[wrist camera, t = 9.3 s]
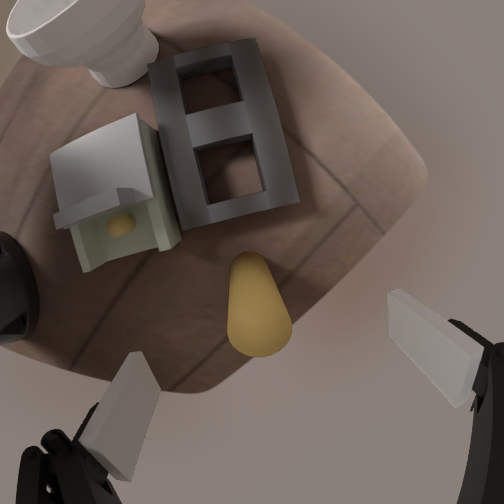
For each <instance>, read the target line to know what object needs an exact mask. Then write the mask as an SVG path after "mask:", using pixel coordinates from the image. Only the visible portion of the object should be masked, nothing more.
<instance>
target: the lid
mask: <svg viewBox="0 0 504 504" xmlns="http://www.w3.org/2000/svg"><path fill="white" fill-rule="evenodd" d="M50 161H51V168H52V175H53V181H54V187H55V192H56V197H57V202H58V207H59V212H57V213H55V214H53V219H54V223H55V227H56V230H57V229H61V228H64V229H68V228H70V227H73V226H75V225H78V224H81V223H83V222H86V221H88V220H91V219H94V218H96V217H99V216H102V215H104V214H107V213H110V212H113V211H115V210H118V209H121V208H124V207H127V206H130V205H133V204H136V203H139V202H142V201H145V200H148V199H151V198H154V197H156V194H155V189H154V185H153V181H152V177H151V172H150V168H149V163H148V159H147V154H146V149H145V144H144V139H143V134H142V129H141V123H140V118H139V115H138V114H137V113H134V114H132V115H129V116H127V117H124V118H122V119H120V120H117V121H115V122H112V123H110V124H108V125H106V126H103V127H101V128H99V129H97V130H95V131H93V132H90V133H88V134H86V135H84V136H82V137H80V138H78V139H76V140H74V141H73V142H71V143H69V144H67V145H65V146H63V147H61V148H60V149H58V150H56V151H54V152H53V153H51V154H50Z"/></svg>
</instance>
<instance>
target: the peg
mask: <svg viewBox="0 0 504 504" xmlns="http://www.w3.org/2000/svg"><path fill="white" fill-rule="evenodd" d="M291 333H292V322H291V319H290V316H289V314H288V312H287V309H286V307H285V305H284V302H283V300H282V298H281V295H280V293H279V291H278V288H277V286H276V284H275V281H274V279H273V277H272V275H271V272H270V270H269V268H268V265H267V263H266V261H265V259H264V258H263V257H262V256H261V255H259V254H257V253H254V252H245V253H242V254H240V255H238V256H237V257H236V258H235V259H234V260H233V262H232V264H231V270H230V287H229V305H228V325H227V334H228V338H229V341H230V343H231V344H232V346H233V347H234V348H235V349H236V350H237V351H239V352H240V353H242V354H244V355H247V356H251V357H265V356H269V355H272V354H274V353H276V352H278V351H280V350H281V349H282V348H283V347H284V346H285V345H286V344H287V342H288V341H289V339H290V337H291Z"/></svg>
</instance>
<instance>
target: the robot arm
mask: <svg viewBox="0 0 504 504" xmlns="http://www.w3.org/2000/svg"><path fill="white" fill-rule="evenodd" d="M387 298H388V336H389V337H390V338H391V339H392V341H393V342H395V344H396V345H397V346H398V347H399V348H400V349H401V350H402V351H403V352H404V353H405V354H406V355H407V356H408V357H409V358H410V359H411V360H412V362H413V363H414V364H415V365H416V366H417V367H418V368H419V369H420V370H421V371H422V372H423V373H424V374H425V375H426V376H427V378H429V380H430V381H431V382H432V383H433V384H434V385H435V386H436V387H437V389H438V390H439V391H440V392H441V393H442V394H443V395H444V396H445V397H446V399H447V400H448V401H449V402H450V403H451V404H452V405H453V406H454V408H457V407H458V406H460V405H461V404H463V403H464V402H466V401H467V400H468V399H469V396H470V394H471V391H472V390H473V391H474V392H475V393H476V396H475V399H474V401H473V404H472V406H471V409H470V411H472V410H473V408H474V418H473V427H472V436H471V443H470V449H469V455H468V461H467V466H466V471H465V475H464V479H463V483H462V487H461V491H460V494H459V498H458V501H457V504H504V342H501V343H496V344H495V345H494V344H492V343H491V342H490V341H488V340H487V339H485V338H484V337H482V336H481V335H480V334H478V333H477V332H474V331H473V330H472V329H471V328H468V326H467V325H465V324H464V323H462V322H461V321H457V320H454V319H450V320H448V321H447V320H445V319H444V318H443V317H441V316H440V315H438V314H437V313H435V312H434V311H432V310H431V309H429V308H428V307H426V306H425V305H424V304H422V303H421V302H419V301H417V300H416V299H415V298H413V297H412V296H410V295H408V294H407V293H406V292H404V291H402V290H401V289H399V288H398V289H395V290H393V291H390V292H387ZM38 316H39V299H38V292H37V287H36V283H35V279H34V276H33V273H32V270H31V268H30V265H29V263H28V261H27V259H26V257H25V255H24V253H23V252H22V250H21V248H20V247H19V246H18V244H17V243H16V242H15V241H14V240H13V239H12V238H11V237H10V236H9V235H7V234H6V233H4V232H1V231H0V345H2V344H6V343H11V342H15V341H19V340H21V339H23V338H24V337H25V336H27V335H28V334H29V333H30V332H32V330H33V329H34V328H35V326H36V324H37V321H38ZM160 392H161V388H160V386H159V385H158V383H157V381H156V379H155V377H154V375H153V373H152V371H151V369H150V367H149V365H148V363H147V361H146V359H145V357H144V355H143V353H142V351H137V352H130V353H129V354H128V356H127V358H126V359H125V361H124V363H123V364H122V366H121V367H120V369H119V371H118V372H117V374H116V376H115V377H114V379H113V381H112V382H111V384H110V386H109V387H108V389H107V391H106V392H105V394H104V396H103V397H102V400H101V401H100V402H97V403H96V404H95V405H94V406H93V407H92V408H91V409H90V410H89V412H88V414H87V416H86V418H85V419H84V421H83V424H81V426H80V428H79V429H78V431H77V433H76V435H75V436H74V438H73V440H72V442H71V440H70V439H69V438H68V437H67V436H66V435H65V434H64V432H63V431H62V430H60V429H53V430H50V431H48V432H47V433H46V434H45V435H44V436H43V437H42V439H41V445H42V446H43V447H44V448H45V450H46V451H47V452H48V454H44V453H43V451H42V450H41V449H40V448H39V447H37V446H31V447H28V448H27V449H25V451H24V452H23V454H22V456H21V462H20V468H19V475H18V483H17V493H16V504H122V503H121V501H120V499H119V497H118V496H117V493H116V492H115V490H114V488H113V486H112V484H111V482H110V481H109V480H108V479H107V475H108V473H110V474H111V475H112V476H113V477H114V478H115V479H116V480H121V481H128V482H131V479H132V476H133V473H134V470H135V466H136V464H137V460H138V457H139V454H140V451H141V447H142V445H143V441H144V438H145V435H146V432H147V429H148V426H149V423H150V420H151V417H152V415H153V412H154V409H155V406H156V403H157V400H158V397H159V394H160ZM46 486H48V487H49V488H50V489H51V492H50V493H49V492H48V491H47V490H46V488H47V487H46Z"/></svg>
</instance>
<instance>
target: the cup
mask: <svg viewBox="0 0 504 504" xmlns="http://www.w3.org/2000/svg"><path fill="white" fill-rule="evenodd" d="M144 8H145V0H18V1H17V3H16V4H15V6H14V8H13V10H12V11H11V13H10V16H9V18H8V21H7V27H6V32H7V34H8V37H9V38H10V39H11V41H12V42H13V43H14V44H15V46H16V47H17V48H18V49H19V51H20V52H21V53H22V54H24V55H26V56H27V57H29V58H31V59H33V60H35V61H37V62H39V63H40V64H42V65H49V66H58V67H76V66H83V67H85V68H87V69H88V70H89V71H90V73H91V74H92V75H93V77H94V78H95V79H96V80H97V81H98V83H99V84H101V85H103V86H104V87H109V88H118V87H123V86H126V85H129V84H131V83H133V82H135V81H136V80H138V79H139V78H141V77H142V76H143V75H144V74H146V73H147V71H148V67H147V64H149V63H152V62H155V60H156V58H157V55H158V51H159V45H158V42H157V39H156V37H155V36H154V35H153V34H152V33H151V32H150V31H149V30H148V29H147V28H146V27H145V26H144V25H143V22H142V19H141V17H142V14H143V11H144Z"/></svg>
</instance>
